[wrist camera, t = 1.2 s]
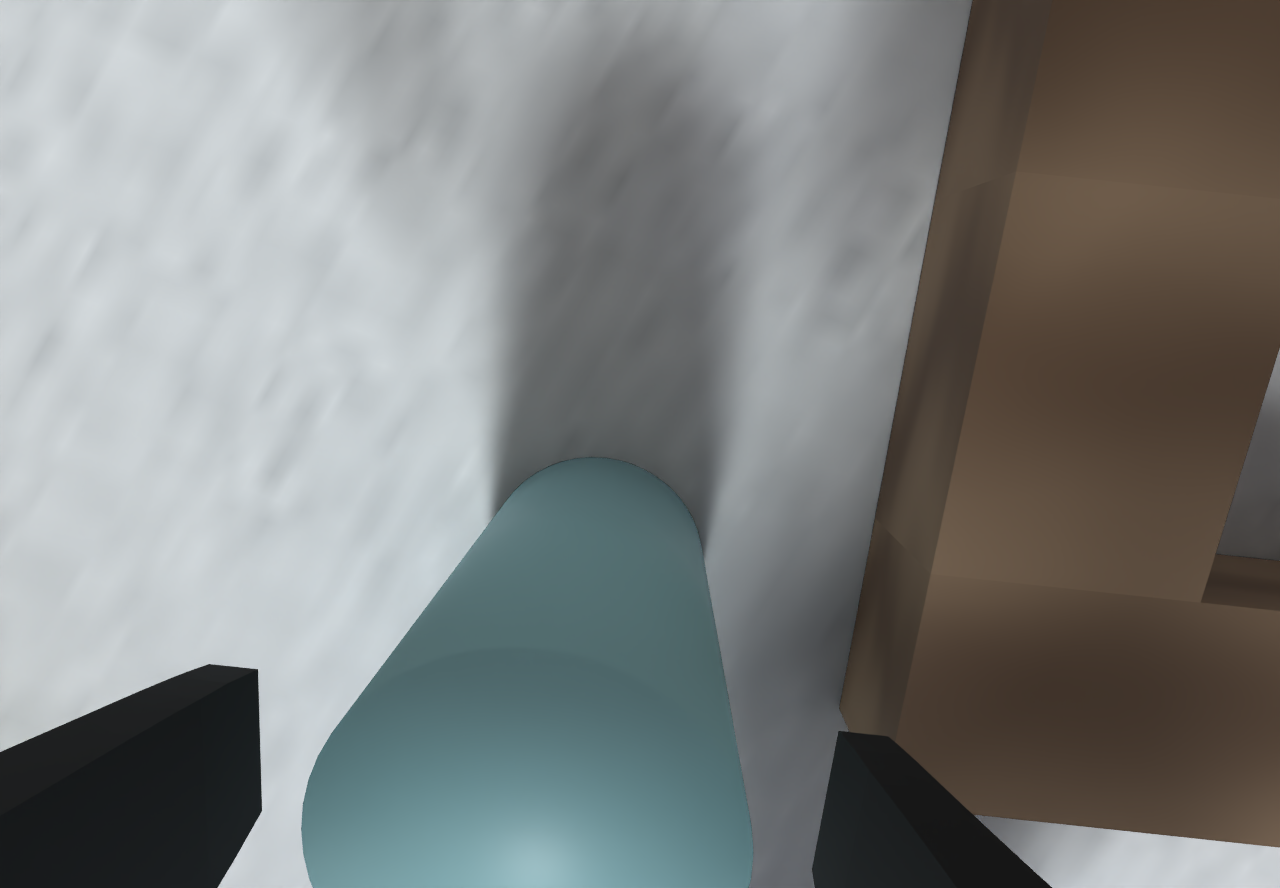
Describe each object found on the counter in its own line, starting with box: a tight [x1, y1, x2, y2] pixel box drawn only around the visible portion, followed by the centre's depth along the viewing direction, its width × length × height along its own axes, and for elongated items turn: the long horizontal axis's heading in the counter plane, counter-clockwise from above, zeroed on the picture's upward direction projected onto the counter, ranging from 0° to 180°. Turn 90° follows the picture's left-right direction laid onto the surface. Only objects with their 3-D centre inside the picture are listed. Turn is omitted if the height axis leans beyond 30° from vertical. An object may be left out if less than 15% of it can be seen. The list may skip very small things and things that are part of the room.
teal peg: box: [301, 457, 753, 888], centre depth 11 cm, size 5×5×8 cm
